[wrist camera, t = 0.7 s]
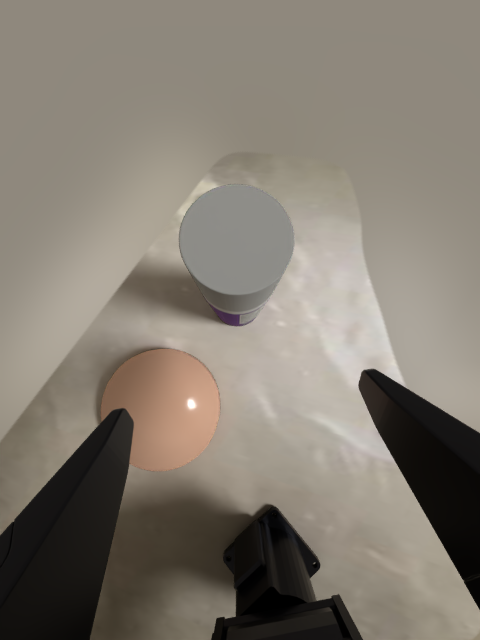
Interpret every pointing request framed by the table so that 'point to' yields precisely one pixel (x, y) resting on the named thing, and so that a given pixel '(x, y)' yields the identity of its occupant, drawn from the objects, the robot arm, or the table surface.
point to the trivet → (165, 407)
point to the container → (236, 249)
